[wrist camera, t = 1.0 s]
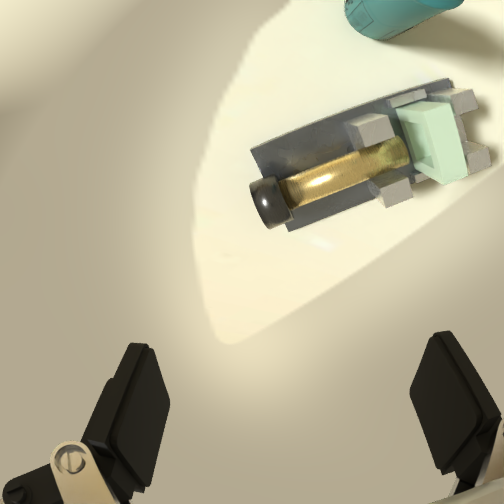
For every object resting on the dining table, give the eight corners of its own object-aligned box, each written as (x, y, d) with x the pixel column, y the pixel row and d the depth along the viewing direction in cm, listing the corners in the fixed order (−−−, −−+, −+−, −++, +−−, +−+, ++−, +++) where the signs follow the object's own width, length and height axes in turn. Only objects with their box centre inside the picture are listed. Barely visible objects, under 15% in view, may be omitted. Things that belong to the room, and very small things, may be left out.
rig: (443, 78, 27) (476, 77, 21) (466, 158, 31) (499, 172, 25) (250, 148, 33) (245, 159, 27) (288, 228, 37) (291, 256, 30)
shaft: (386, 124, 28) (403, 129, 24) (400, 167, 30) (418, 178, 26) (251, 178, 32) (247, 190, 28) (270, 218, 34) (270, 237, 30)
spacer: (418, 101, 28) (449, 103, 22) (436, 160, 30) (468, 175, 24) (395, 108, 28) (423, 111, 22) (414, 168, 31) (443, 185, 25)
